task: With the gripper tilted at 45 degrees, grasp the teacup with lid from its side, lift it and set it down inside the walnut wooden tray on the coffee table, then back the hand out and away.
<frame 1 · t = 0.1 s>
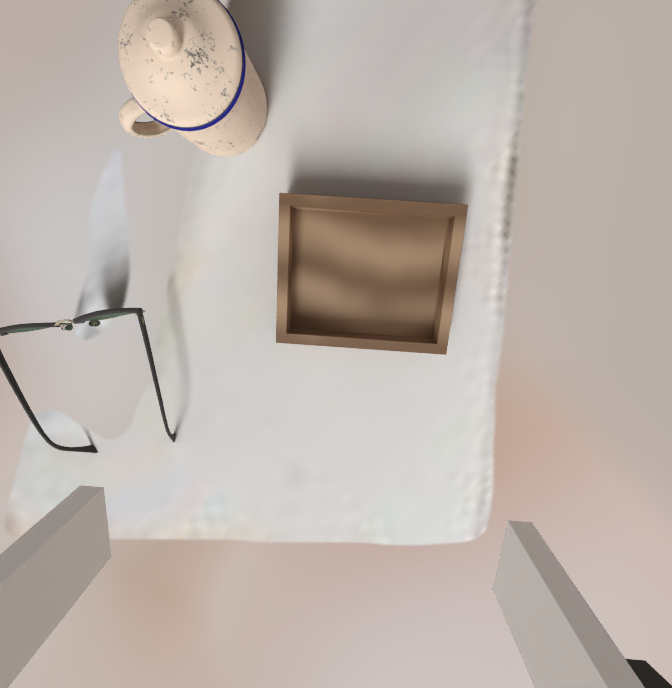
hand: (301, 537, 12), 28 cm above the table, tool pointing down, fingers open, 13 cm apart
teacup with lid: (211, 116, 34), on the table
walnut tray: (364, 275, 37), on the table
black eyeglasses: (116, 380, 41), on the table
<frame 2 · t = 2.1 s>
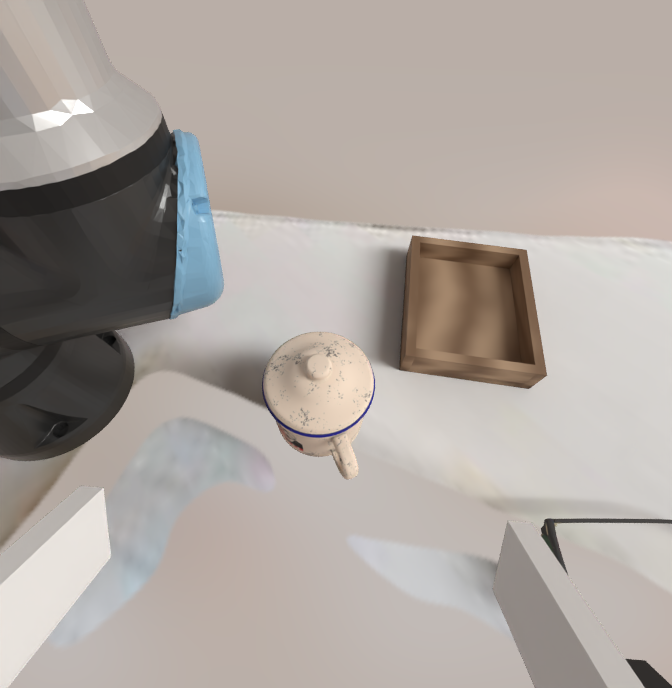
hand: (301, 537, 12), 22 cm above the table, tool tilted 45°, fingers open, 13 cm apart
teacup with lid: (325, 427, 35), on the table
walnut tray: (461, 315, 42), on the table
black eyeglasses: (646, 625, 29), on the table
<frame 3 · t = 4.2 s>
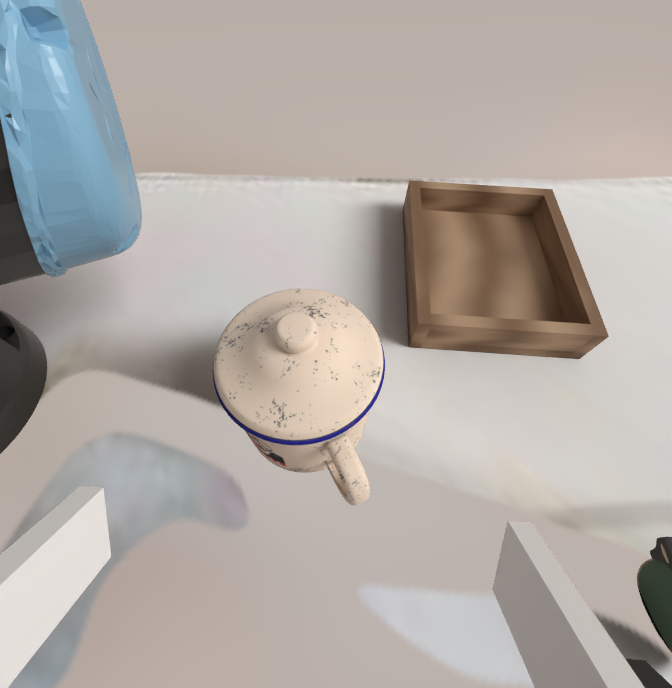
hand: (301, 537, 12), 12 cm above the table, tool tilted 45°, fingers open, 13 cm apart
teacup with lid: (315, 430, 26), on the table
walnut tray: (479, 274, 33), on the table
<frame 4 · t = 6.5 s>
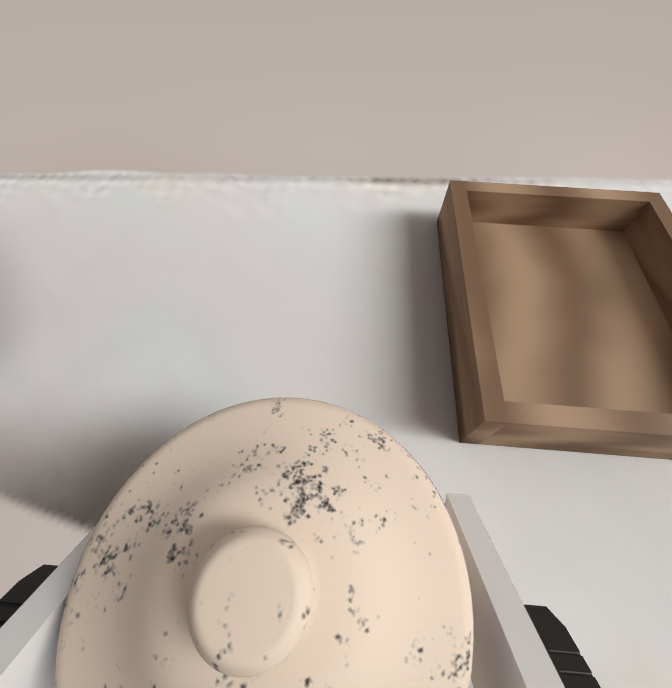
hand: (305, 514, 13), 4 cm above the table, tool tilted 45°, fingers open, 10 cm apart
teacup with lid: (314, 605, 15), on the table, touching gripper
walnut tray: (556, 318, 23), on the table
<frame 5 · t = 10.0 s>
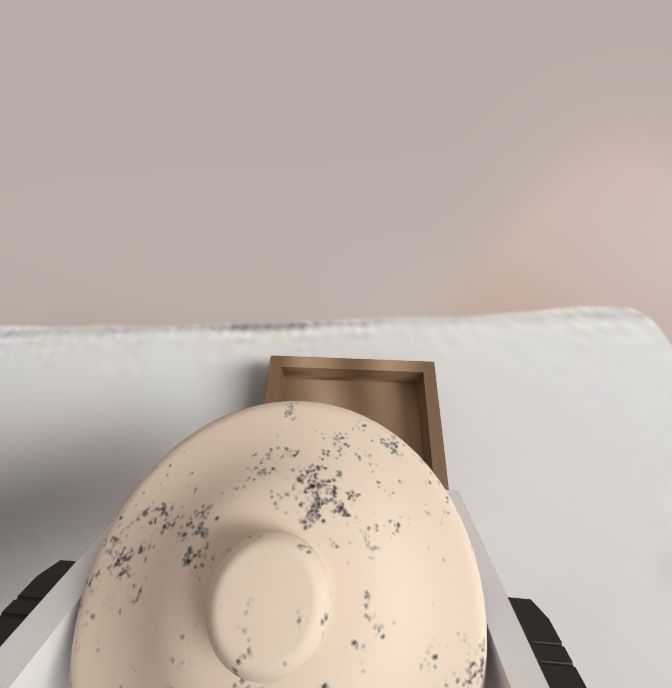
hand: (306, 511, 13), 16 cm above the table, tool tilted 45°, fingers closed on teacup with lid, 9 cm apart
teacup with lid: (320, 607, 15), point 12 cm above the table, touching gripper
walnut tray: (348, 469, 29), on the table
when the fingers open (7 cm above the table, at t = 13.0 s): teacup with lid drops 1 cm, resting on walnut tray.
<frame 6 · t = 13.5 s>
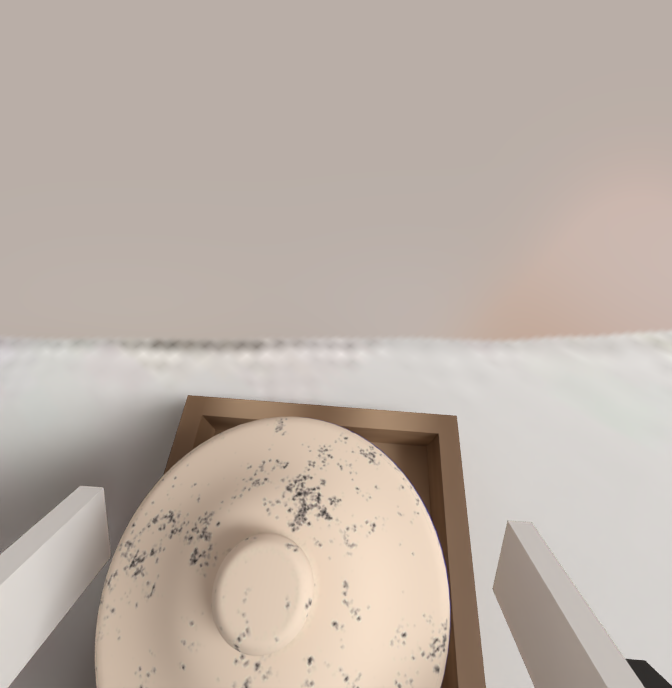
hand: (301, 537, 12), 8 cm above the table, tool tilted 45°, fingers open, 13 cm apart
teacup with lid: (313, 602, 16), point 1 cm above the table, touching walnut tray
walnut tray: (305, 598, 17), on the table
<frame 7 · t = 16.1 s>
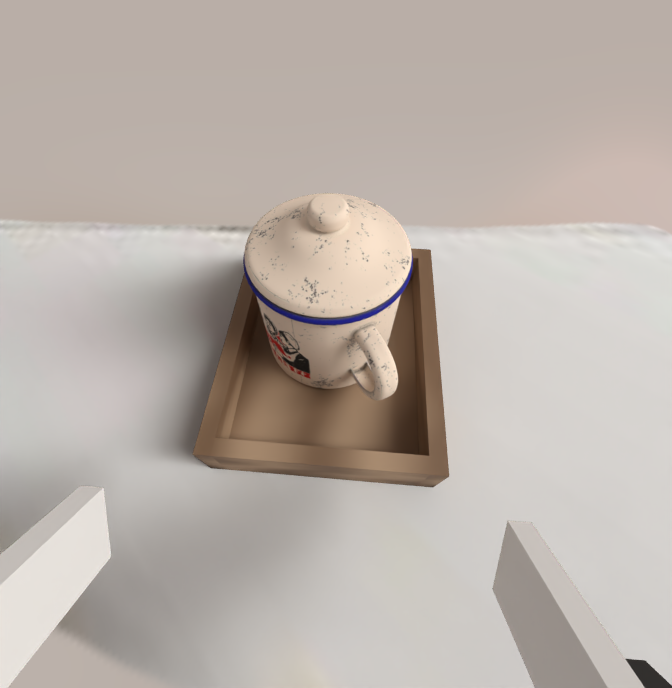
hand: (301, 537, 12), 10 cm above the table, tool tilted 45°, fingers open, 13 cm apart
teacup with lid: (337, 354, 26), point 1 cm above the table, touching walnut tray
walnut tray: (332, 359, 26), on the table
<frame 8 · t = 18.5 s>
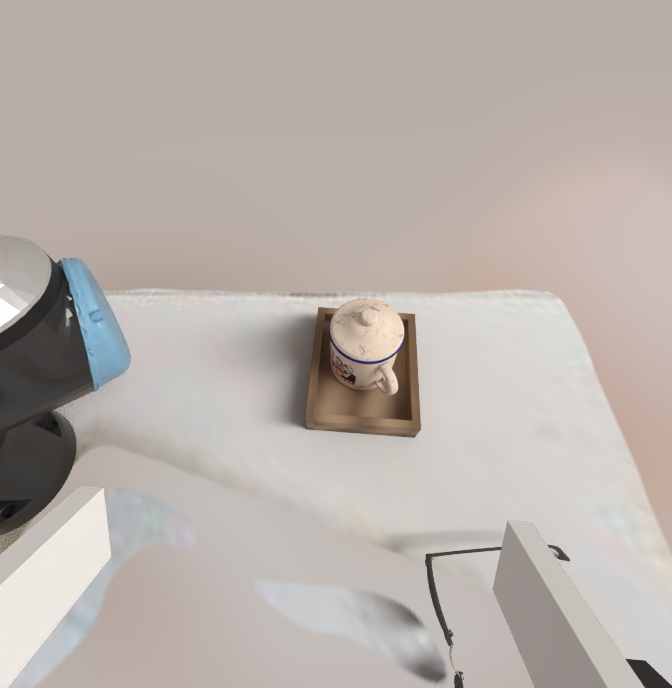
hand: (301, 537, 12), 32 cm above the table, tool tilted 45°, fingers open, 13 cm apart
teacup with lid: (365, 371, 49), point 1 cm above the table, touching walnut tray
walnut tray: (362, 374, 50), on the table
black eyeglasses: (513, 631, 36), on the table
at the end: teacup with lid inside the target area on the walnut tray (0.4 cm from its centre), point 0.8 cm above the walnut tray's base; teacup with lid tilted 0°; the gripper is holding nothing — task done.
